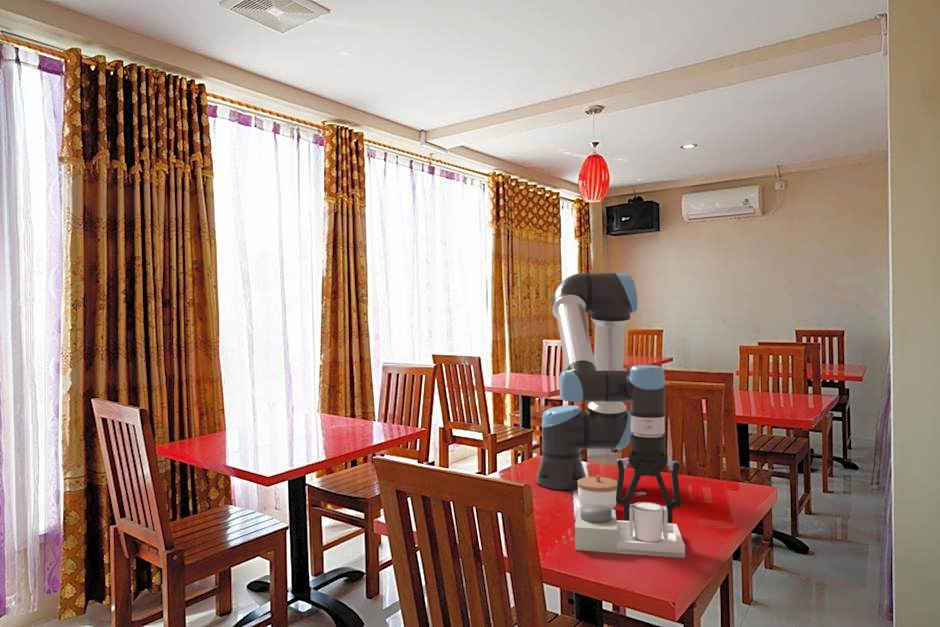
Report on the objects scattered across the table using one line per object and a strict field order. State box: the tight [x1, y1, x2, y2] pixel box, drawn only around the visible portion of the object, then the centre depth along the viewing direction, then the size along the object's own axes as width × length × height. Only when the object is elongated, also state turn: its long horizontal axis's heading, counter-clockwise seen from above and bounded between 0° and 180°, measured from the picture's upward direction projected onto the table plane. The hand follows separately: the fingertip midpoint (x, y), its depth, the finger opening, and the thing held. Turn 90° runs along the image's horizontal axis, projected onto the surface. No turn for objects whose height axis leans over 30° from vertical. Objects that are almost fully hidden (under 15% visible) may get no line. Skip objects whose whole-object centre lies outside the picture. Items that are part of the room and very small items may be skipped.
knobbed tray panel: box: [574, 505, 686, 559], centre depth 139 cm, size 14×23×7 cm, turn 78°
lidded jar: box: [577, 474, 617, 510], centre depth 161 cm, size 11×11×9 cm
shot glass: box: [632, 501, 664, 542], centre depth 138 cm, size 7×7×7 cm
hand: (647, 535), depth 138 cm, fingers closed on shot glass, 7 cm apart
